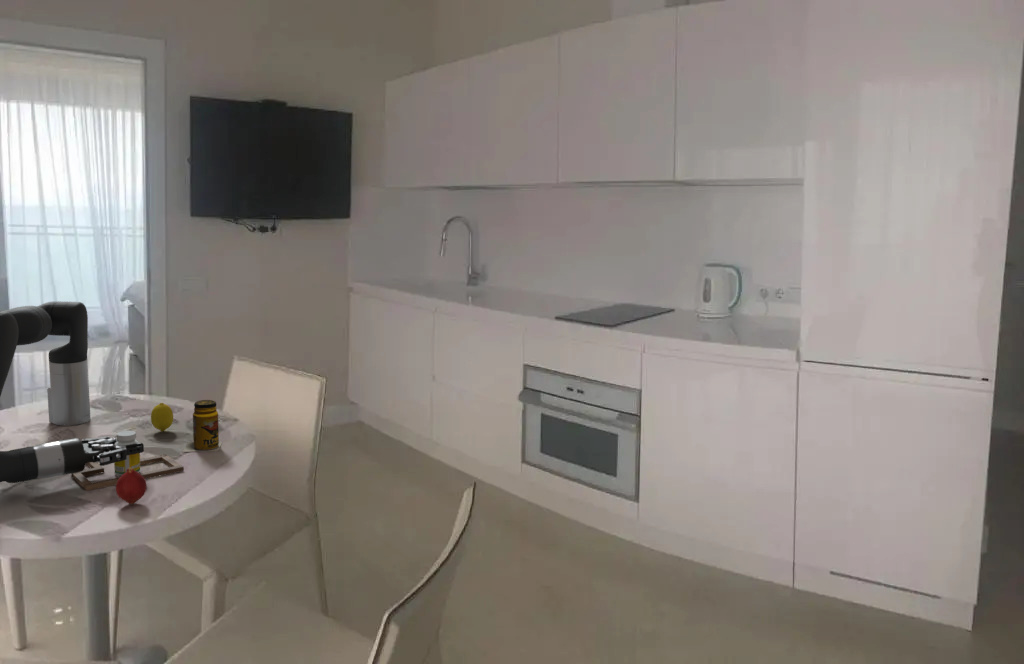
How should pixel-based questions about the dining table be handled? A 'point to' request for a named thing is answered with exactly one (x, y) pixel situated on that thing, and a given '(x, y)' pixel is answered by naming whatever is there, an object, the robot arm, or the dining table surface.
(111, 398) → the dining table surface
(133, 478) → the onion
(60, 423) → the robot arm
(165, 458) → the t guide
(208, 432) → the condiment
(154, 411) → the lemon
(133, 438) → the supplement bottle
